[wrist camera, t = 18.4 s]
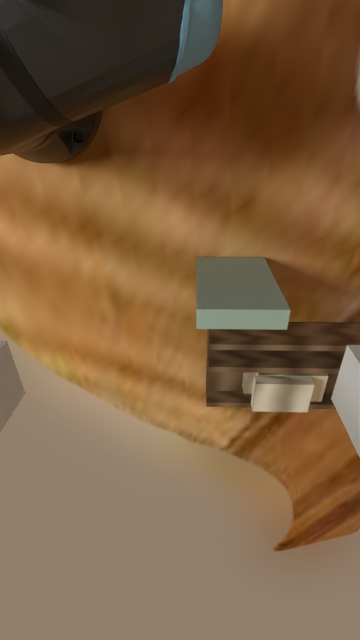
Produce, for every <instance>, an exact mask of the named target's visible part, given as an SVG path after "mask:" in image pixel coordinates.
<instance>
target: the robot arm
mask: <svg viewBox="0 0 360 640" xmlns="http://www.w3.org/2000/svg"><path fill="white" fill-rule="evenodd" d="M222 8H223V0H0V155H6V154H12V153H13V154H15V155H17V156H19V157H21V158H23V159H26V160H29V161H32V162H37V163H57V162H61V161H65V160H68V159H70V158H73V157H75V156H76V155H78V154H79V153H81V152H82V151H83V150H84V149H85V148H86V147H87V146H88V145H89V144H90V142H91V141H92V139H93V138H94V136H95V134H96V132H97V129H98V127H99V124H100V120H101V114H102V110H103V109H105V108H107V107H110V106H112V105H114V104H117V103H119V102H122V101H124V100H126V99H129V98H131V97H133V96H136V95H138V94H141V93H143V92H145V91H148V90H150V89H152V88H155V87H157V86H160V85H162V84H164V83H165V84H169V83H170V82H172V81H174V80H175V79H176V77H177V76H178V75H180V74H182V73H184V72H186V71H188V70H190V69H192V68H194V67H196V66H198V65H199V64H201V63H203V62H204V61H205V60H206V59H207V58H208V57H209V56H210V55H211V53H212V52H213V51H214V49H215V47H216V44H217V41H218V38H219V34H220V29H221V21H222ZM24 394H25V391H24V388H23V385H22V383H21V380H20V377H19V374H18V371H17V368H16V366H15V363H14V360H13V357H12V354H11V351H10V348H9V346H8V343H7V341H0V432H1V430H2V429H3V427H4V426H5V424H6V422H7V421H8V419H9V418H10V416H11V415H12V413H13V411H14V410H15V408H16V407H17V405H18V404H19V402H20V400H21V399H22V397H23V396H24ZM331 400H332V402H333V404H334V406H335V408H336V410H337V412H338V414H339V416H340V418H341V420H342V422H343V424H344V426H345V428H346V430H347V432H348V434H349V436H350V439H351V441H352V443H353V445H354V447H355V449H356V451H357V453H358V455H359V457H360V345H347V347H346V351H345V354H344V357H343V361H342V364H341V367H340V371H339V374H338V377H337V381H336V384H335V387H334V391H333V394H332V397H331Z"/></svg>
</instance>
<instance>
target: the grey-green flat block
mask: <svg viewBox="0 0 360 640" xmlns="http://www.w3.org/2000/svg"><path fill="white" fill-rule="evenodd" d="M289 316H290V308H289V306H288V304H287V302H286V300H285V298H284V296H283V294H282V292H281V290H280V288H279V286H278V284H277V282H276V280H275V278H274V276H273V274H272V272H271V270H270V268H269V266H268V264H267V262H266V260H265V258H264V257H197V282H196V329H268V330H287V327H288V322H289Z"/></svg>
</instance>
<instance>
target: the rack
mask: <svg viewBox="0 0 360 640" xmlns="http://www.w3.org/2000/svg"><path fill="white" fill-rule="evenodd" d="M347 345H360V323H289V322H288V327H287V330H268V329H208V342H207V374H206V403H207V407H252V406H251V397H252V394H244V393H243V387H242V384H243V374H244V372H245V373H312V374H328V380H327V383H326V387H325V391H324V394H323V398H322V401H321V402H313V401H310V404H309V408H308V409H336V408H335V406H334V404H333V402H332V400H331V397H332V394H333V391H334V387H335V384H336V381H337V377H338V374H339V371H340V367H341V364H342V361H343V357H344V354H345V351H346V347H347Z"/></svg>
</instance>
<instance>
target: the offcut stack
mask: <svg viewBox="0 0 360 640" xmlns="http://www.w3.org/2000/svg"><path fill="white" fill-rule="evenodd" d="M327 380H328V374H312V373H245V372H244V374H243V384H242V387H243V393H244V394H252V397H251V406H252V411H266V412H308V408H309V404H310V401H313V402H321V401H322V398H323V394H324V391H325V387H326V383H327Z"/></svg>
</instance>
